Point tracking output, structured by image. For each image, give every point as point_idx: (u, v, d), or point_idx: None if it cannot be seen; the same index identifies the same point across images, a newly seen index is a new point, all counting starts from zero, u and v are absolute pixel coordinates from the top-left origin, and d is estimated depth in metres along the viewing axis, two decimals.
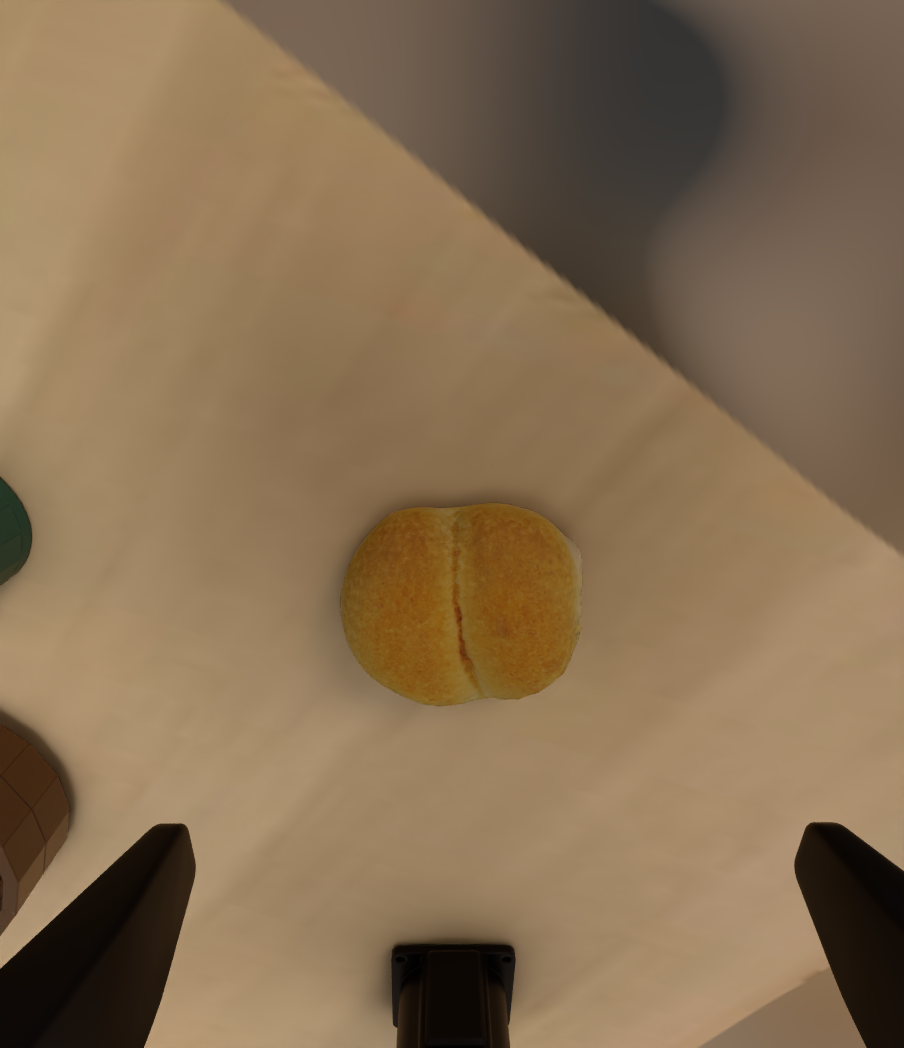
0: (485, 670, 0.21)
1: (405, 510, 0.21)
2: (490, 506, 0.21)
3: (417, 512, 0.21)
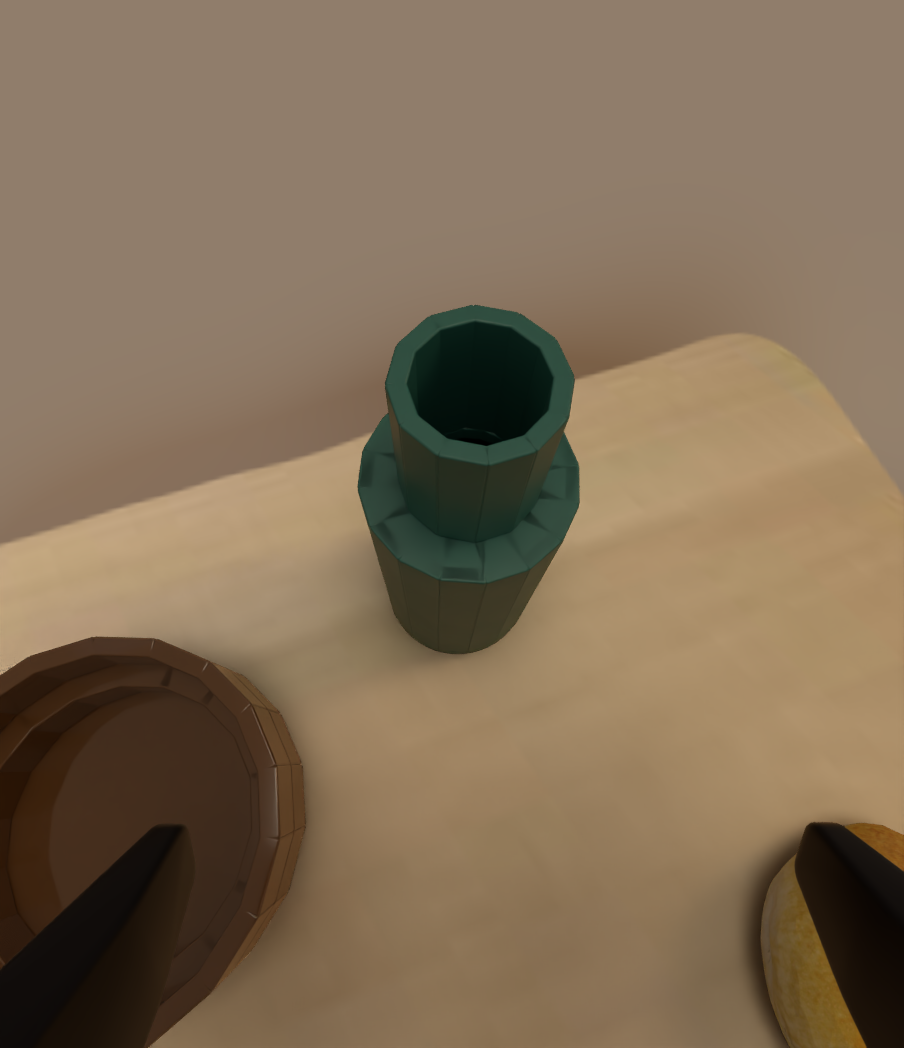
0: None
1: None
2: None
3: None
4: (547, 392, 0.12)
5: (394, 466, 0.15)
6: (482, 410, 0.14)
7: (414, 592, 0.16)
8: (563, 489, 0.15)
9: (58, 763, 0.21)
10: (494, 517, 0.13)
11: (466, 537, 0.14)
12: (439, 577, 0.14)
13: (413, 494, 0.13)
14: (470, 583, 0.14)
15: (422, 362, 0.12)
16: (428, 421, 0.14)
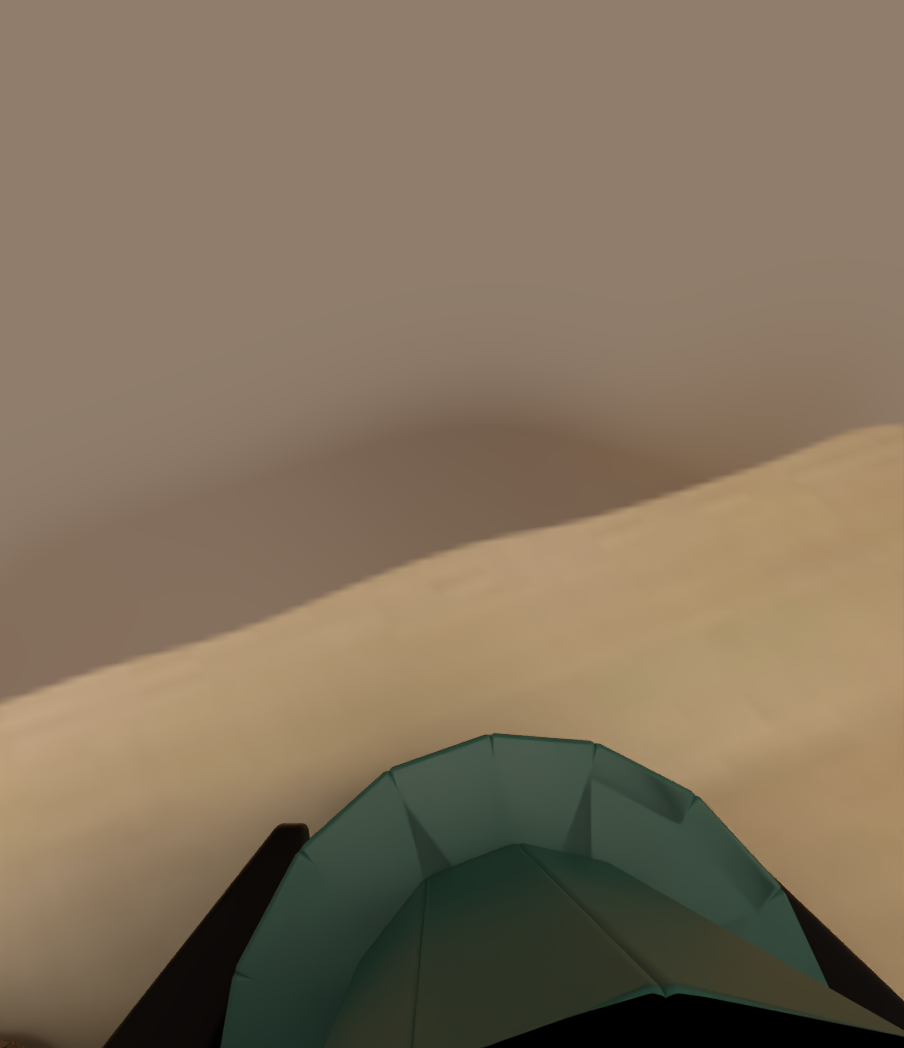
0: None
1: None
2: None
3: None
4: None
5: (320, 1039, 0.05)
6: None
7: None
8: None
9: None
10: None
11: None
12: None
13: None
14: None
15: None
16: None
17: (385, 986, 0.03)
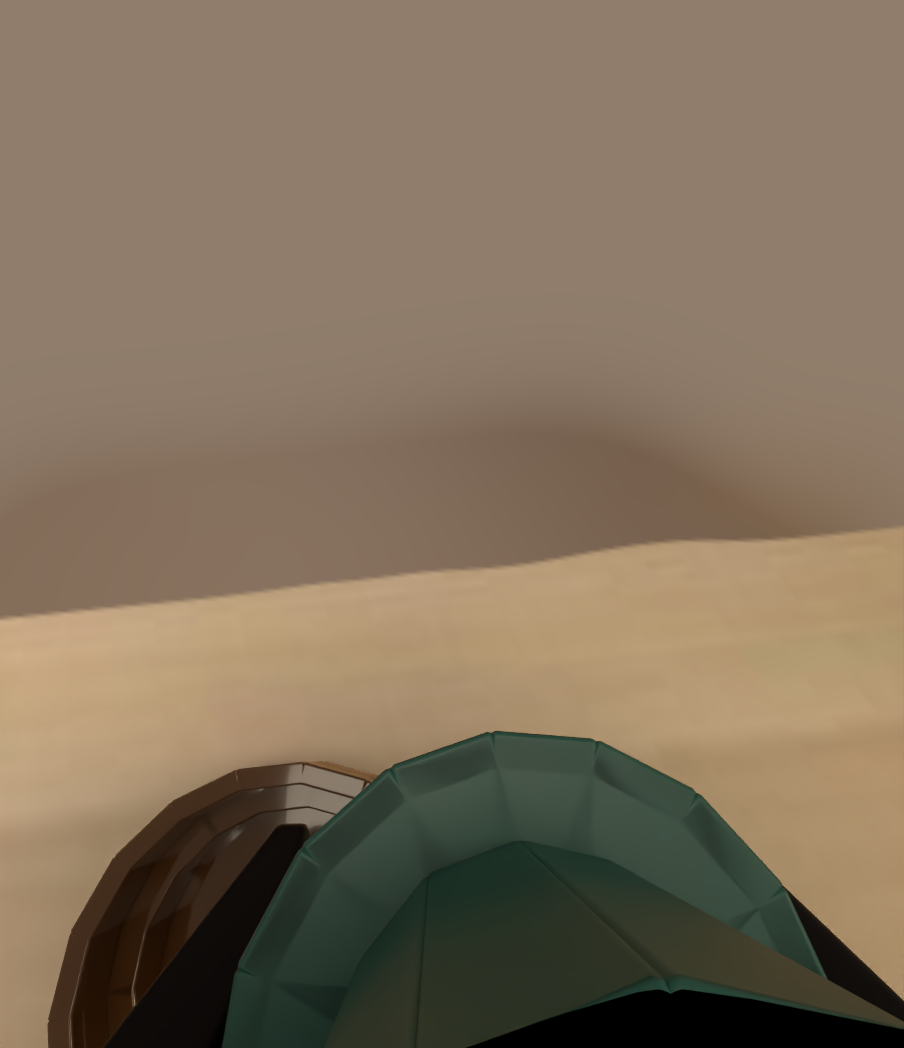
0: None
1: None
2: None
3: None
4: None
5: (321, 1035, 0.05)
6: None
7: None
8: None
9: (224, 863, 0.20)
10: None
11: None
12: None
13: None
14: None
15: None
16: None
17: (388, 981, 0.03)
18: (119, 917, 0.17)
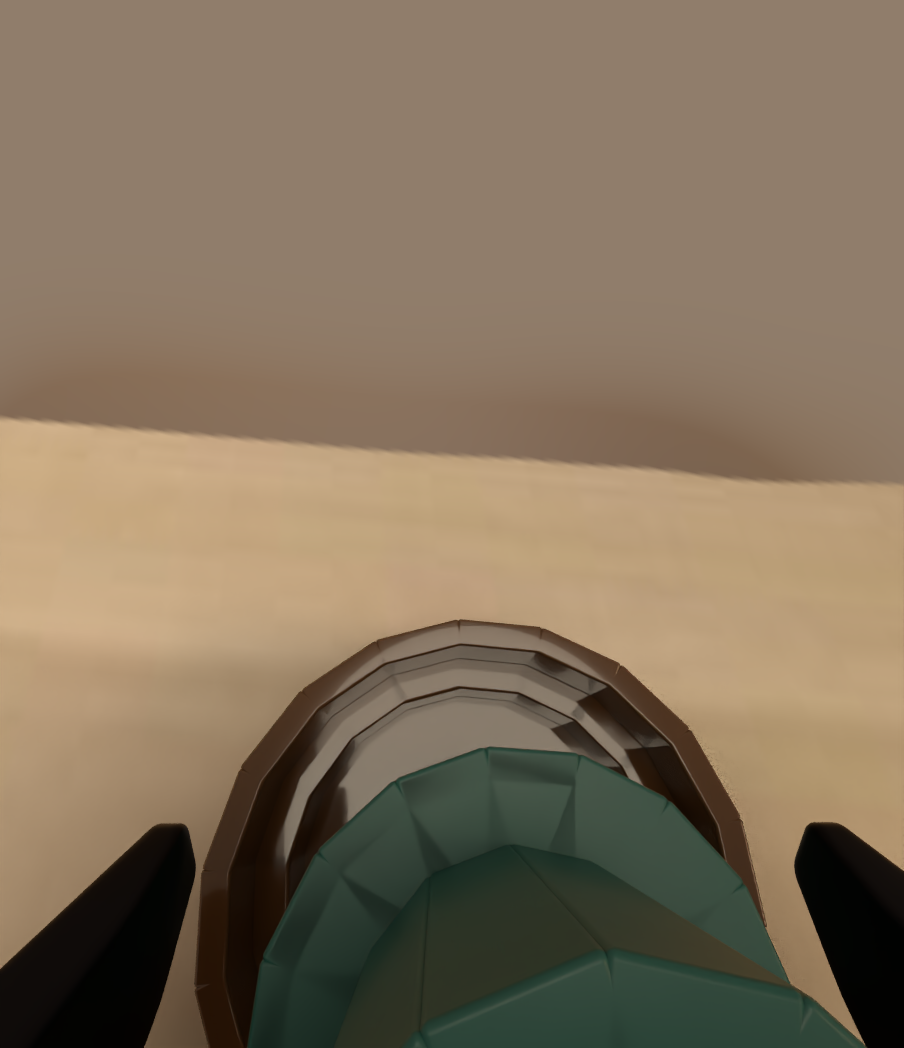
0: None
1: None
2: None
3: None
4: None
5: (337, 1017, 0.06)
6: None
7: None
8: None
9: (392, 746, 0.16)
10: None
11: None
12: None
13: None
14: None
15: None
16: None
17: (397, 963, 0.04)
18: (286, 770, 0.14)
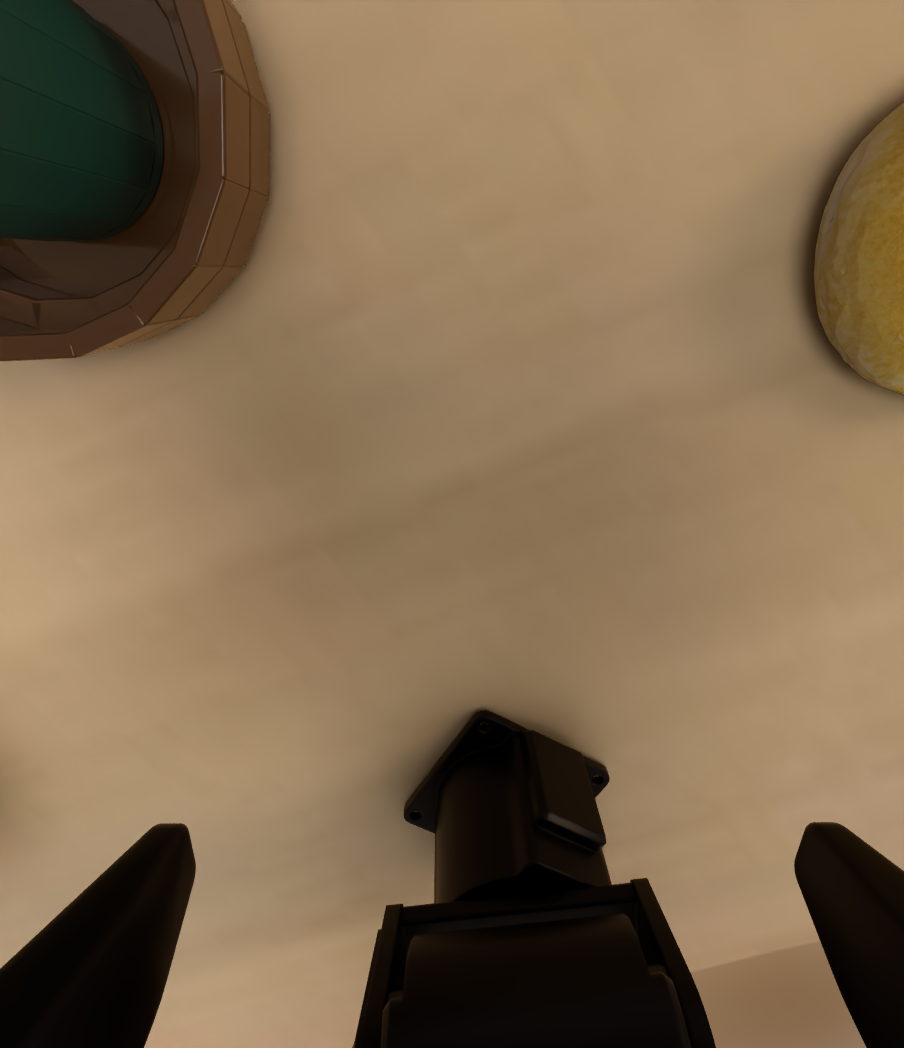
0: None
1: None
2: None
3: None
4: None
5: None
6: None
7: None
8: None
9: None
10: None
11: None
12: None
13: None
14: None
15: None
16: None
17: None
18: None
